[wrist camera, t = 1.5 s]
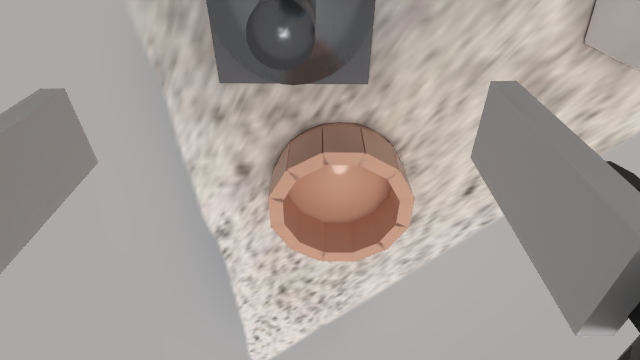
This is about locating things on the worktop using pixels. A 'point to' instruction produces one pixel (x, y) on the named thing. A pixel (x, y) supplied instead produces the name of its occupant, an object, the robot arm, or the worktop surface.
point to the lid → (291, 35)
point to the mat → (348, 74)
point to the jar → (616, 30)
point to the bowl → (340, 193)
